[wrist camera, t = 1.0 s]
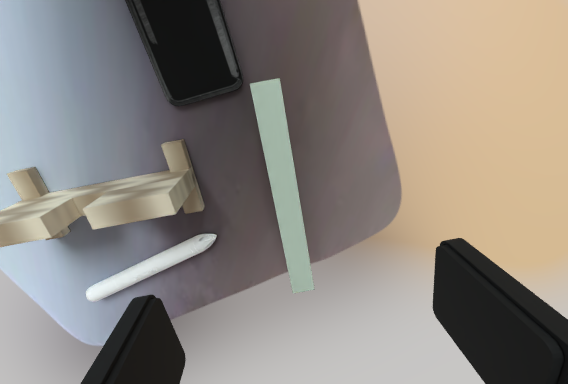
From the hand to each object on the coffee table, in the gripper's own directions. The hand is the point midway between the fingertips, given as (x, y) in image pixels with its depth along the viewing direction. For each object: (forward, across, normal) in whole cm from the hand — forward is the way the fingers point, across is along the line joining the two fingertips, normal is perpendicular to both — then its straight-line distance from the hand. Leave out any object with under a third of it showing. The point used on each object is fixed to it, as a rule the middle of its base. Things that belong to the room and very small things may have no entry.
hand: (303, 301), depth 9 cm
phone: (+23, +6, -14) cm, 28 cm away
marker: (+23, +17, +11) cm, 31 cm away
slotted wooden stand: (+22, +18, +1) cm, 29 cm away
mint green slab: (+22, 0, +2) cm, 22 cm away
